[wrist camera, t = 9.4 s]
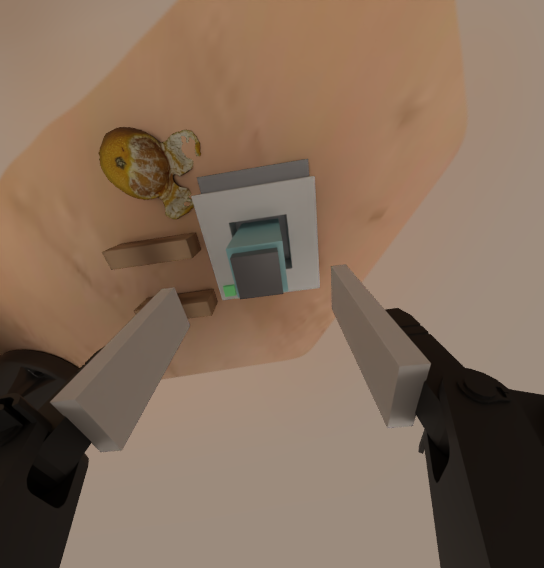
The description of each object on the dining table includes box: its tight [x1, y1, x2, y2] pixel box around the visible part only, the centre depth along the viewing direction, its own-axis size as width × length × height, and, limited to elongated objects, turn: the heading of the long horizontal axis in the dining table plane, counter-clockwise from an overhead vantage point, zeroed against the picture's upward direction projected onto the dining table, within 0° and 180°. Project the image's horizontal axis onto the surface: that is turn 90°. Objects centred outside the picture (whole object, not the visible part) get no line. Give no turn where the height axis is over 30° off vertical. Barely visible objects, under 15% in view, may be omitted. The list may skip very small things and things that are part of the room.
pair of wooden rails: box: [102, 233, 217, 319], centre depth 24 cm, size 9×9×3 cm
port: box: [191, 159, 320, 300], centre depth 22 cm, size 11×14×4 cm
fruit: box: [99, 127, 201, 219], centre depth 19 cm, size 8×8×4 cm
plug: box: [226, 218, 288, 299], centre depth 19 cm, size 4×4×10 cm
